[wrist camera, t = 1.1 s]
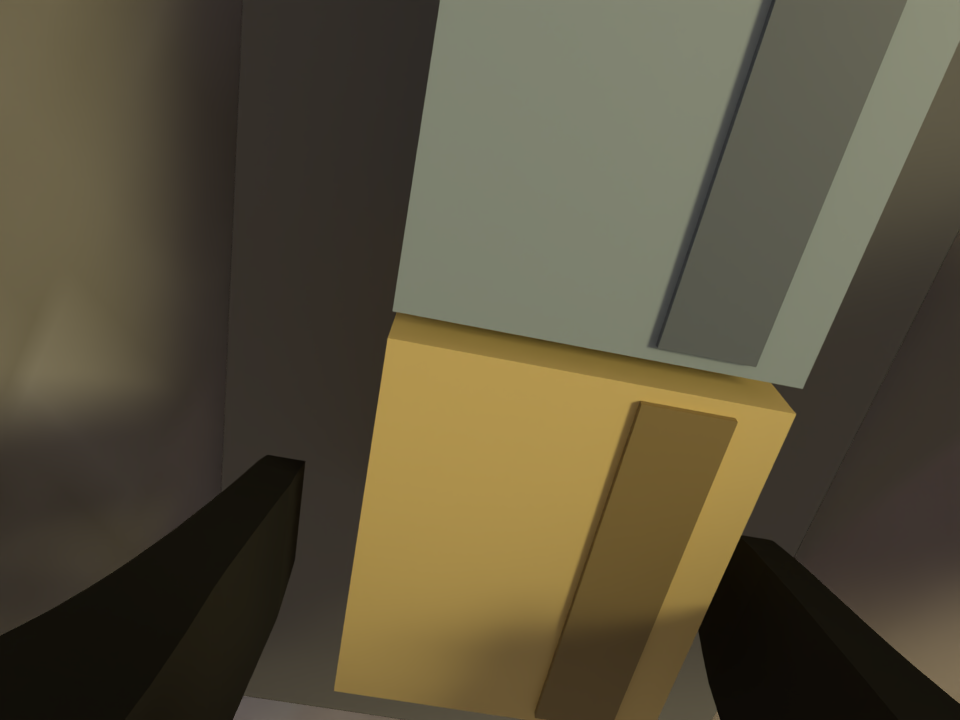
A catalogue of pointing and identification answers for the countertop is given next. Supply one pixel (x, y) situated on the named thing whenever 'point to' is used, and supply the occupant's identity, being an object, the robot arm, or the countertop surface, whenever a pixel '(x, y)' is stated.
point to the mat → (369, 312)
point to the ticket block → (664, 169)
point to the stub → (545, 522)
